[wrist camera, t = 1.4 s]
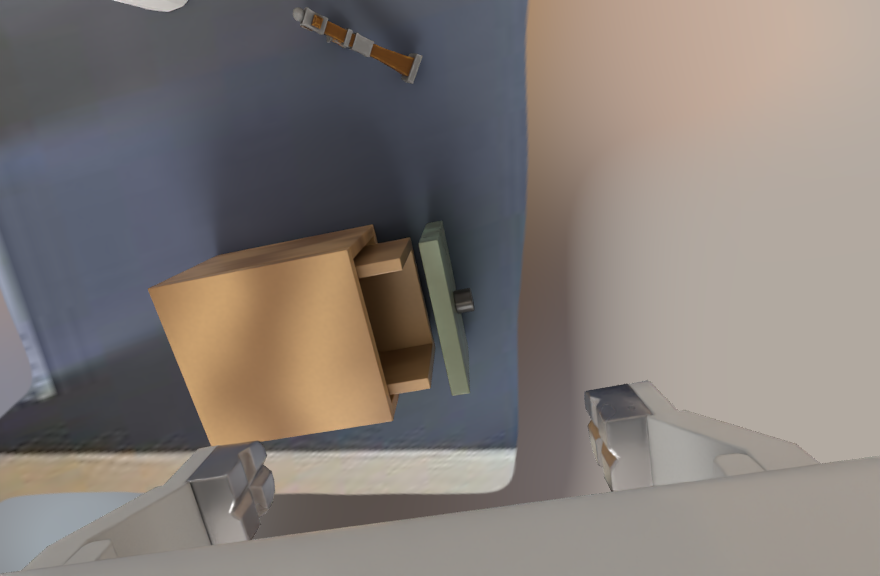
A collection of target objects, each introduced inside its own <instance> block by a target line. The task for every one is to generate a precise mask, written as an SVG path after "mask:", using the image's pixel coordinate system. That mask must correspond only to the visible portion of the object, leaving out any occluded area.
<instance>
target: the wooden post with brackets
mask: <svg viewBox="0 0 880 576" xmlns="http://www.w3.org/2000/svg"><path fill="white" fill-rule="evenodd" d="M293 17H294V18H295V20H297V21H300V22H301V23H300V25H301V27H302V28H305V29H307V30H309V31H312V30H313V31H316V32H317V33H319V34H320V35H323V34H324V35H326V37H327V42H331V41H333V42H335V43H336V44H338V45H340V46H341V47H342V48H346V47H348V48H349V49H351V50H354V51H356V52H359V53H361V54H363V55H364V56H365V57H369V56H370V57H373V58H375V59H377V60H379V61H380V62H382V63H384V64H386V65H387V66H389V67H391V68H393V69H394V70H396V71H397V72H399V73H400V74H402V77H401V79H402V80H404V81H405V82H407V83H412V84H413V82H414V79H415V76H416V74H417V71H418V68H419V65H420V62H421V59H422V55H418V54H409V56H405V55H402V54H399V53H396V52H393V51H390V50H388V49H385V48H382V47H380V46H378V45H376V44H373V43H374V41H372V40H369V39H367V38H365V37H363V36H361V35H360V34H358V33H354V34H353V33H352V32H353V30H350V29H346V30H345V29H343V28H341V27H339V26H337V25H335V24H333V23H331V22H329V21H328V18H327V17H324V16H322V15H320V14H318V13H316V12H314V11H312V10H310V9H309V8H308V7H306V8H305V9H304V10H303V9H302V8H299V7H297V8H295V9H294V10H293Z"/></svg>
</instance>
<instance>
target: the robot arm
mask: <svg viewBox="0 0 880 576" xmlns="http://www.w3.org/2000/svg"><path fill="white" fill-rule="evenodd" d="M585 407H586V410H587V412H588V414H589V416H590V418H591V421H590V423H589V424H588V431H589V437H590V442H591V446H592V451H593V454H594V456H595V459H596V461H597V463H598V465H599V466H601V467H603V470H604V478H605V480H606V482H607V484H608V486H609V488H610V490H611V492H606V493H599V494H591V495H584V496H577V497H569V498H562V499H554V500H548V501H539V502H532V503H525V504H517V505H509V506H502V507H495V508H487V509H480V510H473V511H465V512H457V513H450V514H442V515H435V516H427V517H420V518H412V519H405V520H398V521H390V522H382V523H375V524H367V525H360V526H352V527H345V528H337V529H330V530H323V531H315V532H307V533H300V534H292V535H285V536H278V537H270V538H262V539H255V540H252V539H253V537H254V535H255V534H256V532H257V530H258V528H259V526H260V525H261V523H260V520H259V518H260V517H261V516H262V515H264V514H265V513H266V512H268V511H269V509H270V507H271V505H272V503H273V499H274V493H275V485H274V478H273V475H272V471H270V470H269V469H268V468H267V467H266V466H264V465H263V464H264V462H265V459H266V457H267V455H266V452H265V449H264V446H263V444H262V443H261V442H260V441H258V440H257V441H249V442H242V443H234V444H227V445H216V446H211V447H206V448H201V449H198V450H197V451H196V452H195V453H194V454H193V455H192V456H191V457H190V458H189V459H188V460H187V461H186V462H185V463H184V464H183V465H182V466H181V467H180V468H179V470H178V471H177V472H176V473H175V474H174V475H173V476H172V477H171V478H170V479H169V480H168V481H167V482H166V483H165V484H164V485H163V486H159V487H156V488H154V489H152V490H150V491H148V492H146V493H145V494H143V495H141V496H139V497H137V498H135V499H134V500H132V501H130V502H128V503H126V504H125V505H123V506H121V507H119V508H117V509H115V510H113V511H112V512H110V513H108V514H106V515H104V516H102V517H101V518H99V519H97V520H95V521H93V522H91V523H90V524H88V525H86V526H84V527H82V528H80V529H78V530H77V531H75V532H73V533H71V534H69V535H68V536H66V537H64V538H62V539H60V540H58V541H56V542H55V543H53V544H51V545H49V546H47V547H46V548H45V549H44V550H43V551H42V552H41V553H40V554H39V555H38V556H37V557H35V558H34V559H33V560H32V561H31V562H30V563H29V564H28V565H27V566H25V567H24V568H23V569H22V570H21V571H17V572H9V573H1V574H0V576H880V456H875V457H867V458H859V459H852V460H844V461H837V462H830V463H822V464H821V463H820V462H818V461H817V460H816V459H815V458H813V457H812V456H811V455H809V454H808V453H807V452H806V451H804V450H803V449H802V448H801V447H799V446H798V445H797V444H795V443H792V442H788V441H785V440H782V439H779V438H775V437H772V436H769V435H765V434H762V433H759V432H756V431H752V430H749V429H746V428H742V427H739V426H736V425H732V424H729V423H726V422H722V421H719V420H716V419H713V418H709V417H706V416H703V415H699V414H696V413H693V412H690V411H686V410H683V411H678V410H677V409H676V408H675V407H674V406H673V405H672V404H671V403H670V401H669V400H668V399H667V398H666V397H665V396H663V394H662V393H661V392H660V391H659V390H658V389H657V388H656V387H655V386H654V385H653V384H652V383H651V382H650V381H642V382H637V383H632V384H623V385H617V386H612V387H606V388H600V389H594V390H589V391H586V392H585Z"/></svg>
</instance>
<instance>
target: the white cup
mask: <svg viewBox="0 0 880 576" xmlns="http://www.w3.org/2000/svg"><path fill="white" fill-rule="evenodd" d="M114 1H118V2H122V3H126V4H130V5H134V6H138V7H142V8H145V9H149V10H155V11H164V12H169V11H172V10H175V9H177V8H180V7H183V6H184V5H185V3H186V2H187V1H188V0H114Z"/></svg>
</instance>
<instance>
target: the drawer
mask: <svg viewBox="0 0 880 576" xmlns="http://www.w3.org/2000/svg"><path fill="white" fill-rule="evenodd" d="M418 245H419V249H420V254H421V258H422V263H423V267H424V272H425V276H426V281H427V285H428V290H429V294H430V299H431V303H432V308H433V312H434V317H435V321H436V326H437V330H438V335H439V339H440V344H441V348H442V353H443V357H444V362H445V366H446V371H447V375H448V380H449V384H450V389H451V393H452V396H455V395H461V394H467V393H470V380H469V351H468V344H467V339H466V335H465V330H464V325H463V320H462V315H461V313H464V312H470V311H474V310H475V309H474V302H473V297H472V292H471V288H466V289H461V290H456V286H455V281H454V276H453V271H452V266H451V261H450V256H449V251H448V247H447V242H446V237H445V232H444V227H443V222H442V221H437V222H432V223H427V224H426V226H425V228H424V231H423V233H422V236H421V238H420V241H419V243H418ZM353 260H354V264H355V268H356V272H357V275H358V279H359V283H360V287H361V290H362V294H363V298H364V302H365V306H366V309H367V313H368V317H369V321H370V324H371V328H372V332H373V336H374V339H375V343H376V347H377V351H378V354H379V358H380V362H381V366H382V369H383V373H384V377H385V381H386V384H387V388H388V392H389V395H392V394H399V393H405V392H411V391H417V390H423V389H429V388H431V380H432V372H433V363H434V355H435V344H434V339H433V335H432V331H431V326H430V322H429V317H428V313H427V309H426V304H425V300H424V295H423V291H422V287H421V282H420V278H419V273H418V269H417V265H416V260H415V256H414V251H413V247H412V242H411V238H410V237H409V238H404V239H399V240H393V241H388V242H383V243H378V244H373V245H368V246H364V247H363V248H362V250H361V251H360V252H359V253H358V254H357V255H356V256H355V257H354V259H353Z"/></svg>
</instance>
